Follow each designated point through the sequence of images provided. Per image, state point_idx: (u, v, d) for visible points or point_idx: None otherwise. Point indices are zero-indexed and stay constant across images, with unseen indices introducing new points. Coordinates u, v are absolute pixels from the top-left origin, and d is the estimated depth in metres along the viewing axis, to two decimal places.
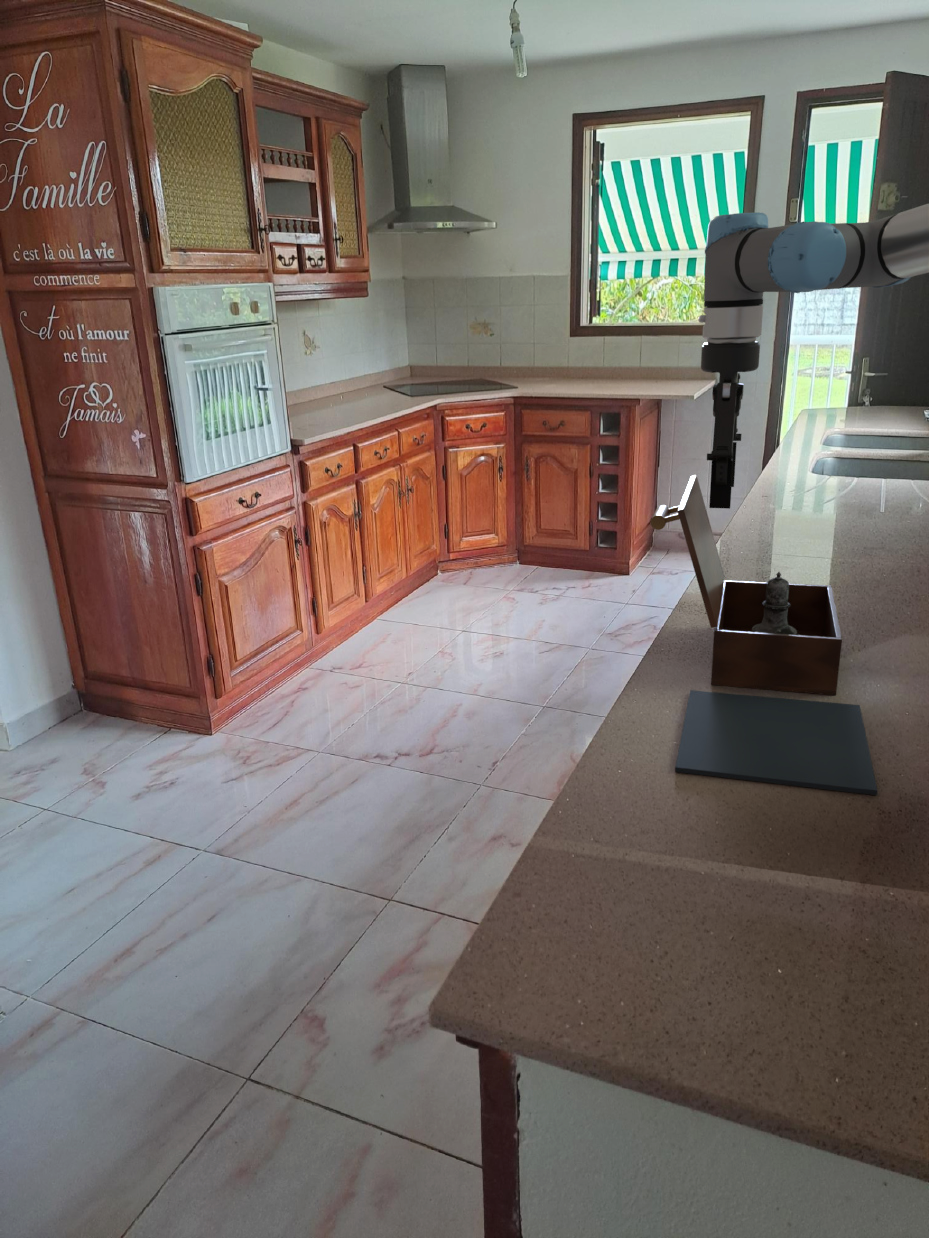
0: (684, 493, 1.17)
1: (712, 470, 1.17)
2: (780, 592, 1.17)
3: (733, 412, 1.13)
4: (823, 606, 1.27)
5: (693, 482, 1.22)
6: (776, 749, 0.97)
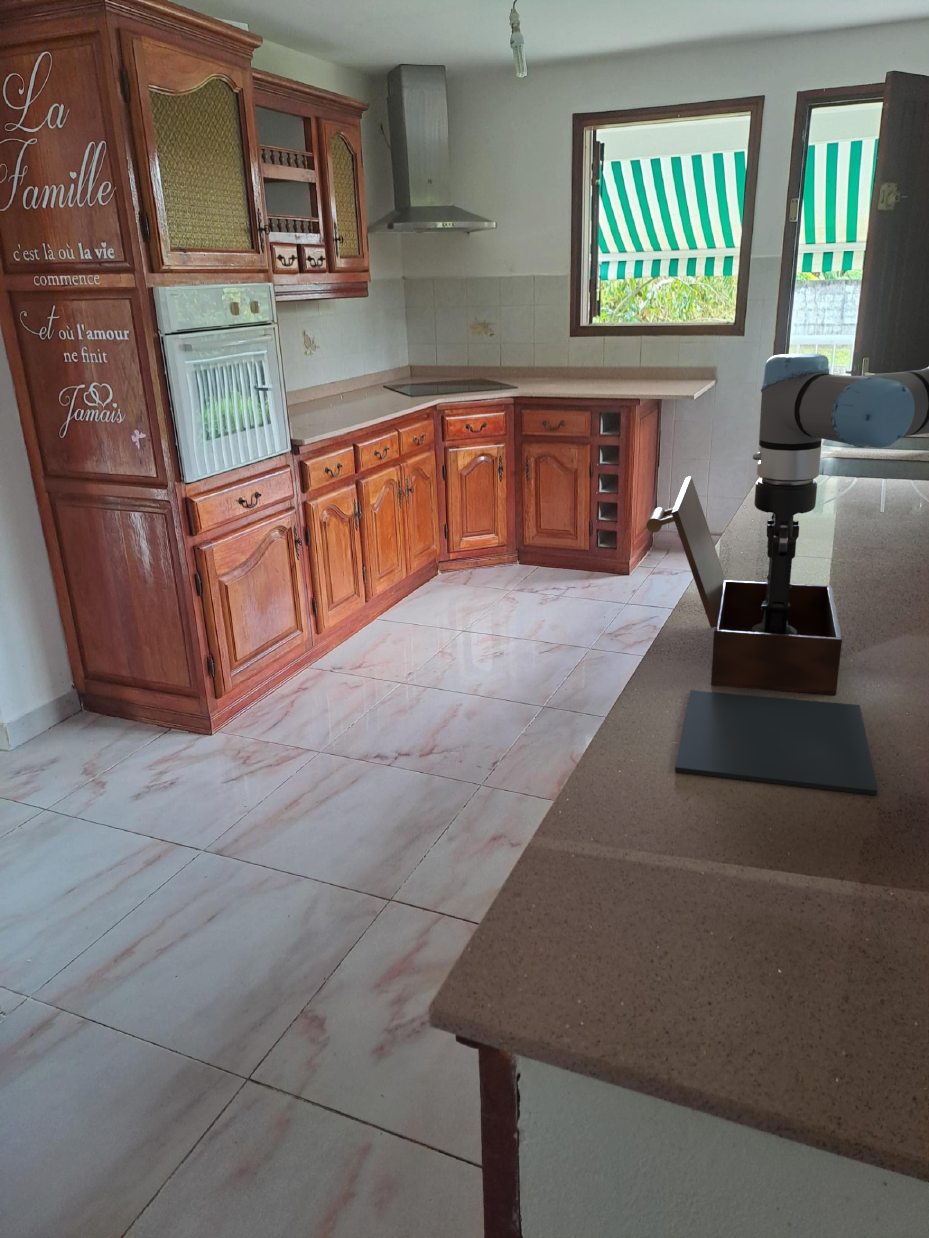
0: None
1: (766, 618, 1.17)
2: None
3: (790, 568, 1.11)
4: (823, 606, 1.27)
5: (688, 483, 1.23)
6: (776, 749, 0.97)
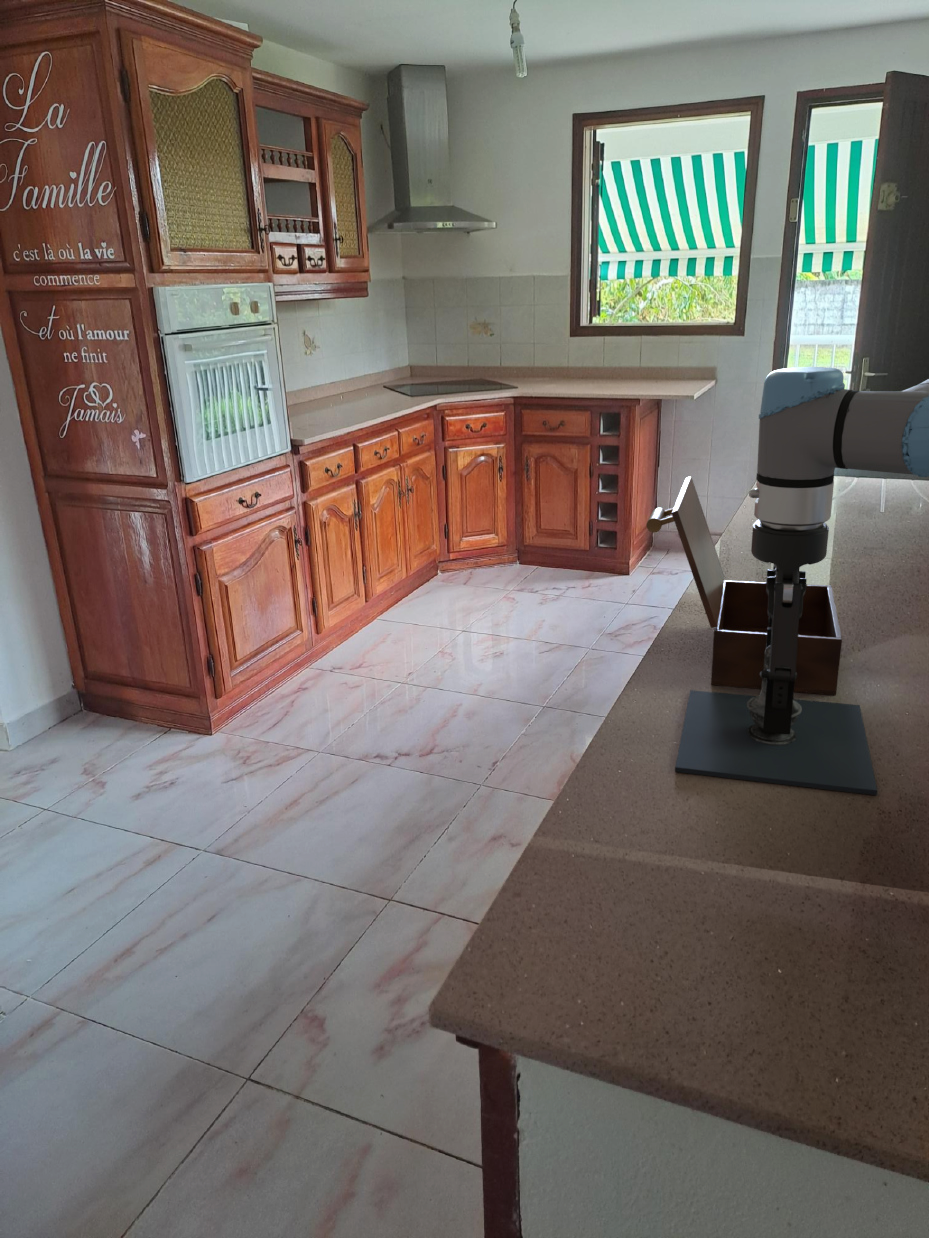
0: None
1: (767, 688, 0.92)
2: None
3: (797, 622, 0.88)
4: (823, 606, 1.27)
5: (688, 483, 1.23)
6: (776, 749, 0.97)
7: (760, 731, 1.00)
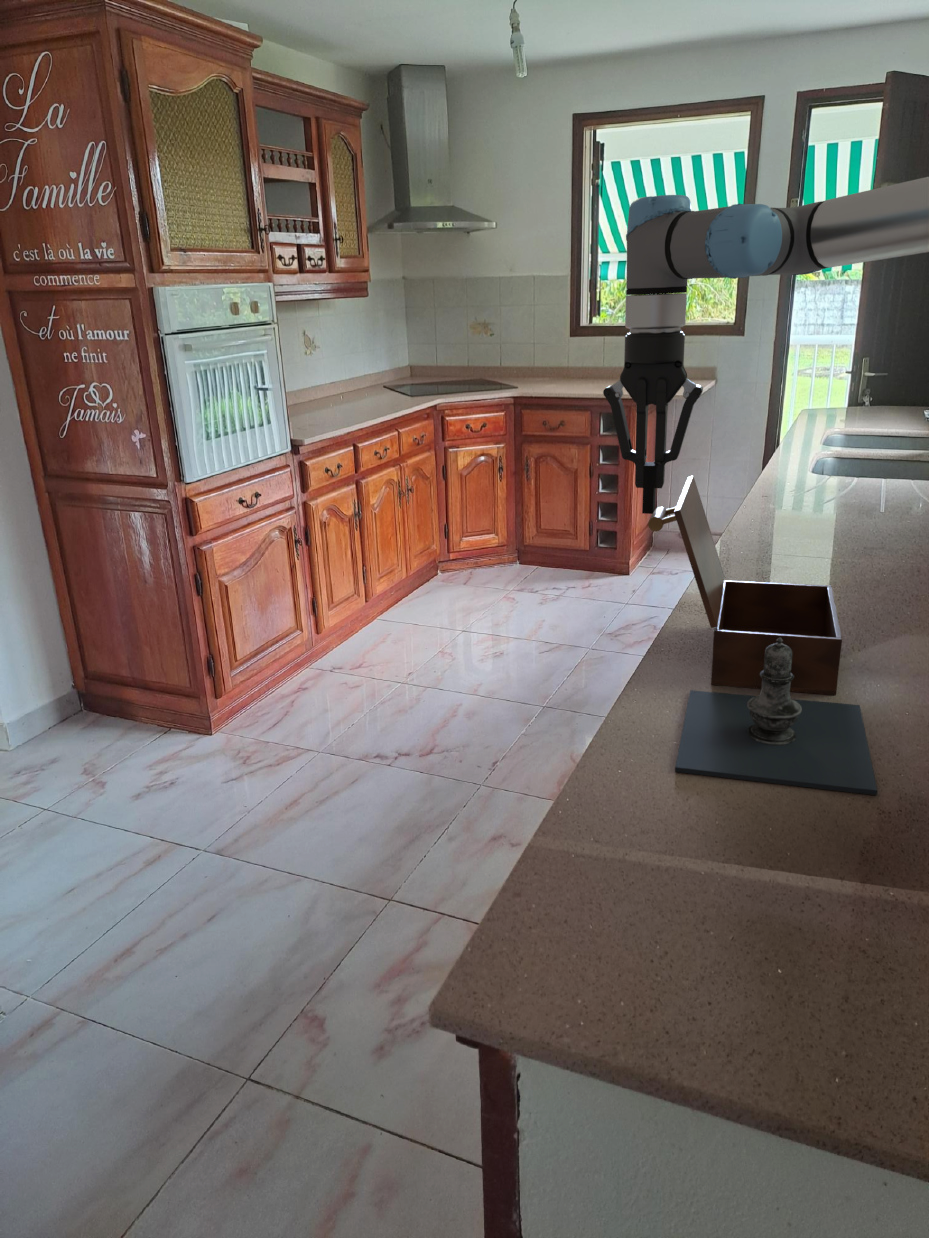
0: (681, 494, 1.17)
1: None
2: (781, 662, 0.96)
3: (613, 417, 1.16)
4: (823, 606, 1.27)
5: (690, 483, 1.22)
6: (776, 749, 0.97)
7: (760, 731, 1.00)
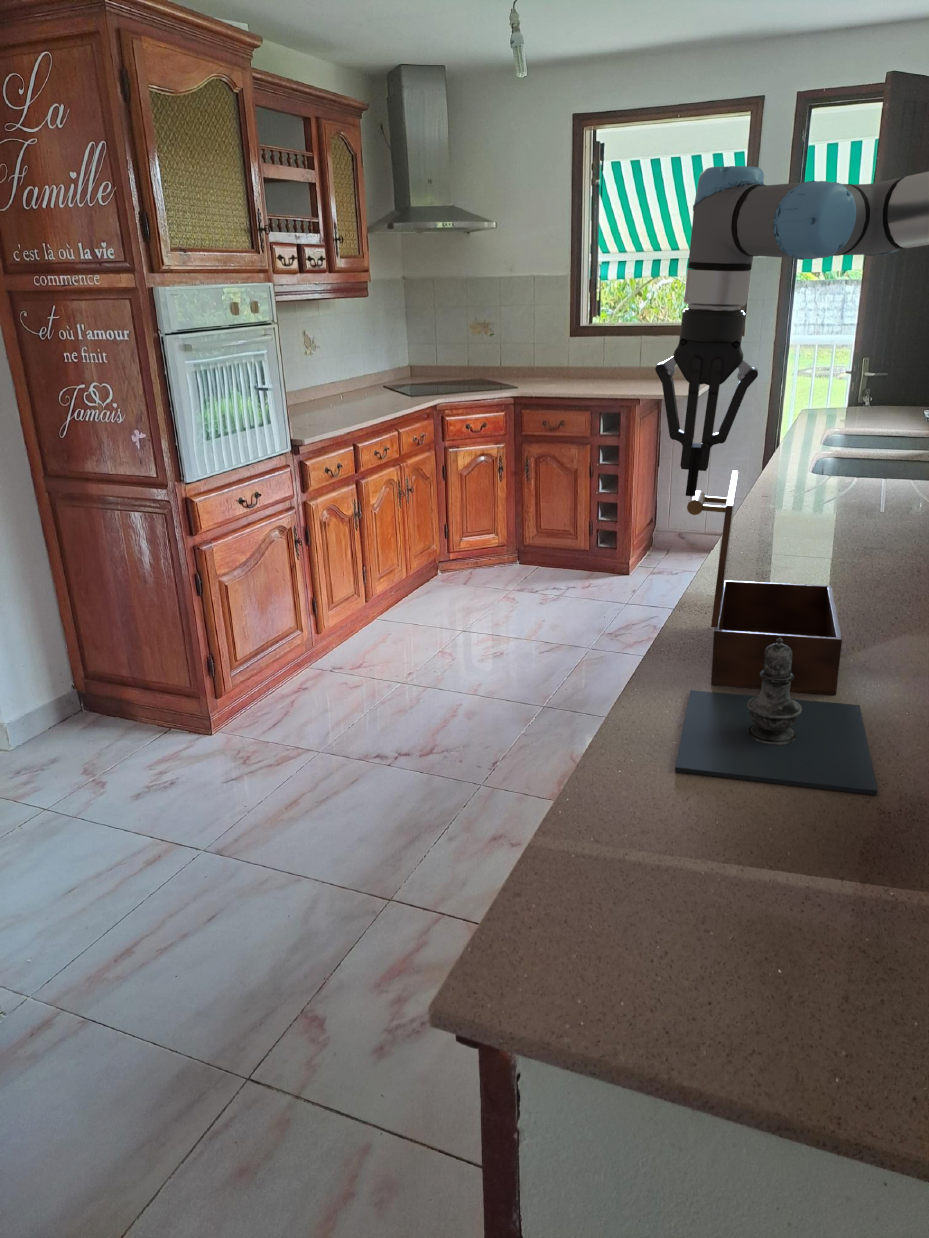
0: (729, 488, 1.15)
1: None
2: (781, 662, 0.96)
3: None
4: (823, 606, 1.27)
5: None
6: (776, 749, 0.97)
7: (760, 731, 1.00)
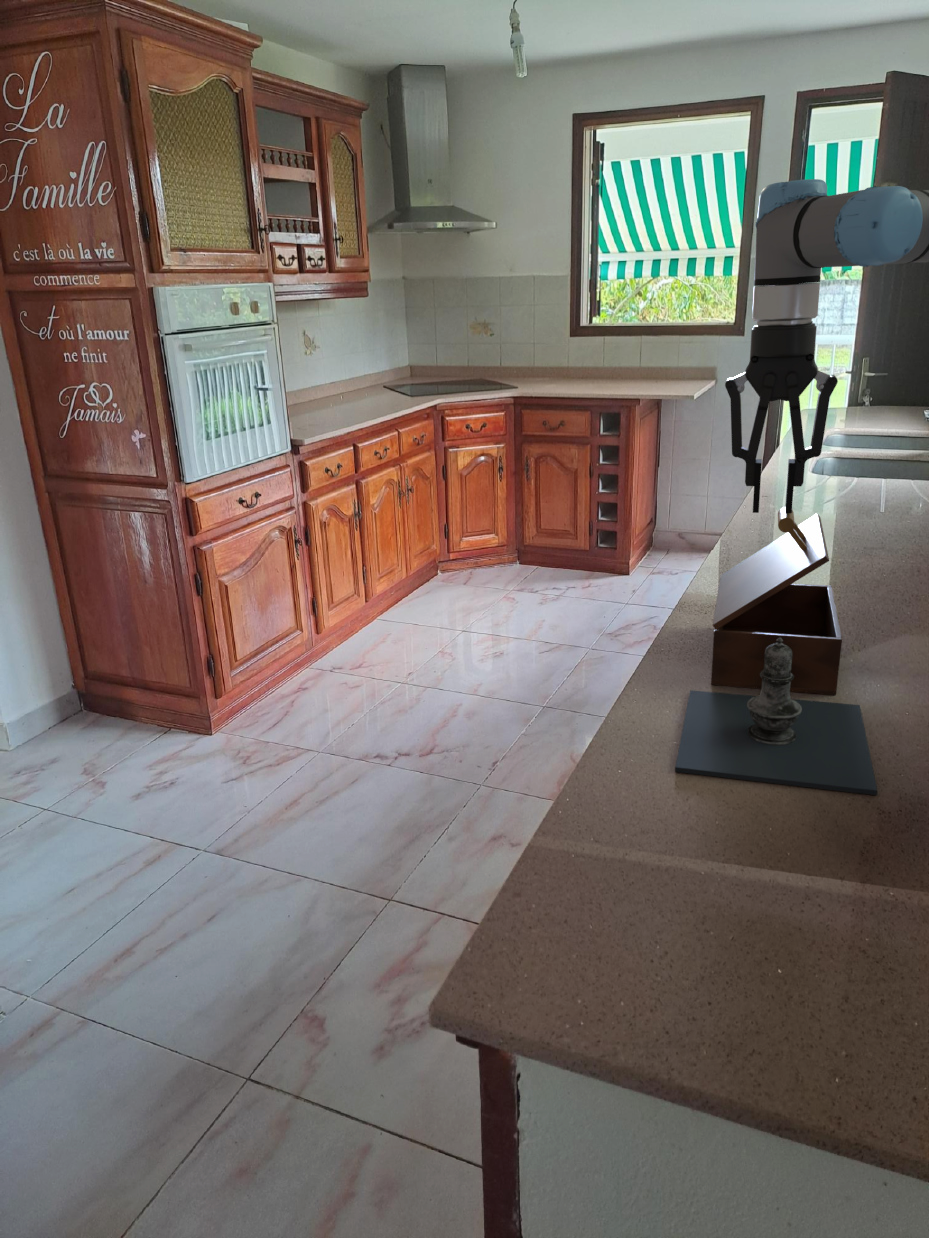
0: (821, 535, 1.14)
1: None
2: (781, 662, 0.96)
3: None
4: (823, 606, 1.27)
5: None
6: (776, 749, 0.97)
7: (760, 731, 1.00)
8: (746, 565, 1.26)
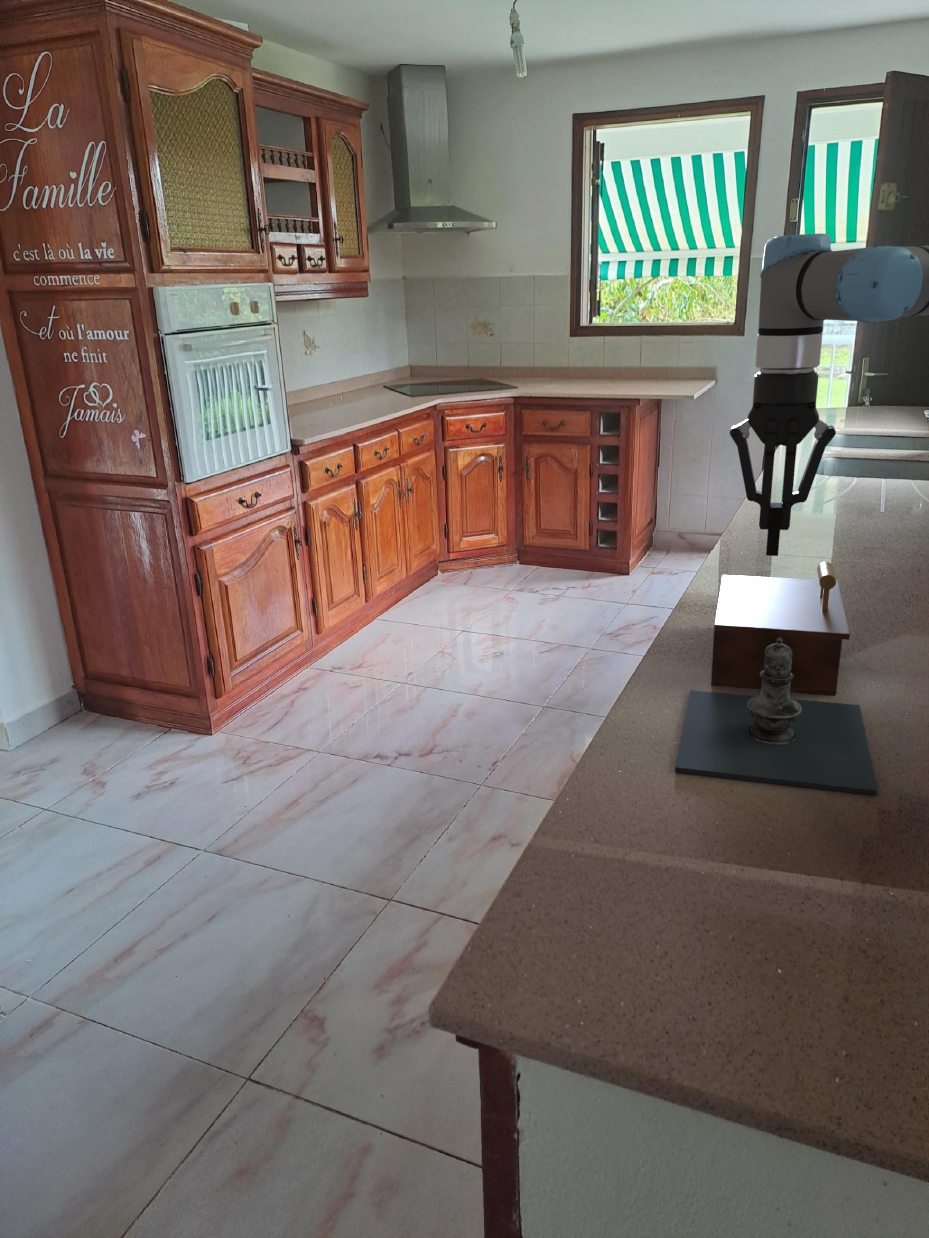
0: None
1: None
2: (781, 662, 0.96)
3: None
4: None
5: None
6: (776, 749, 0.97)
7: (760, 731, 1.00)
8: (754, 584, 1.26)
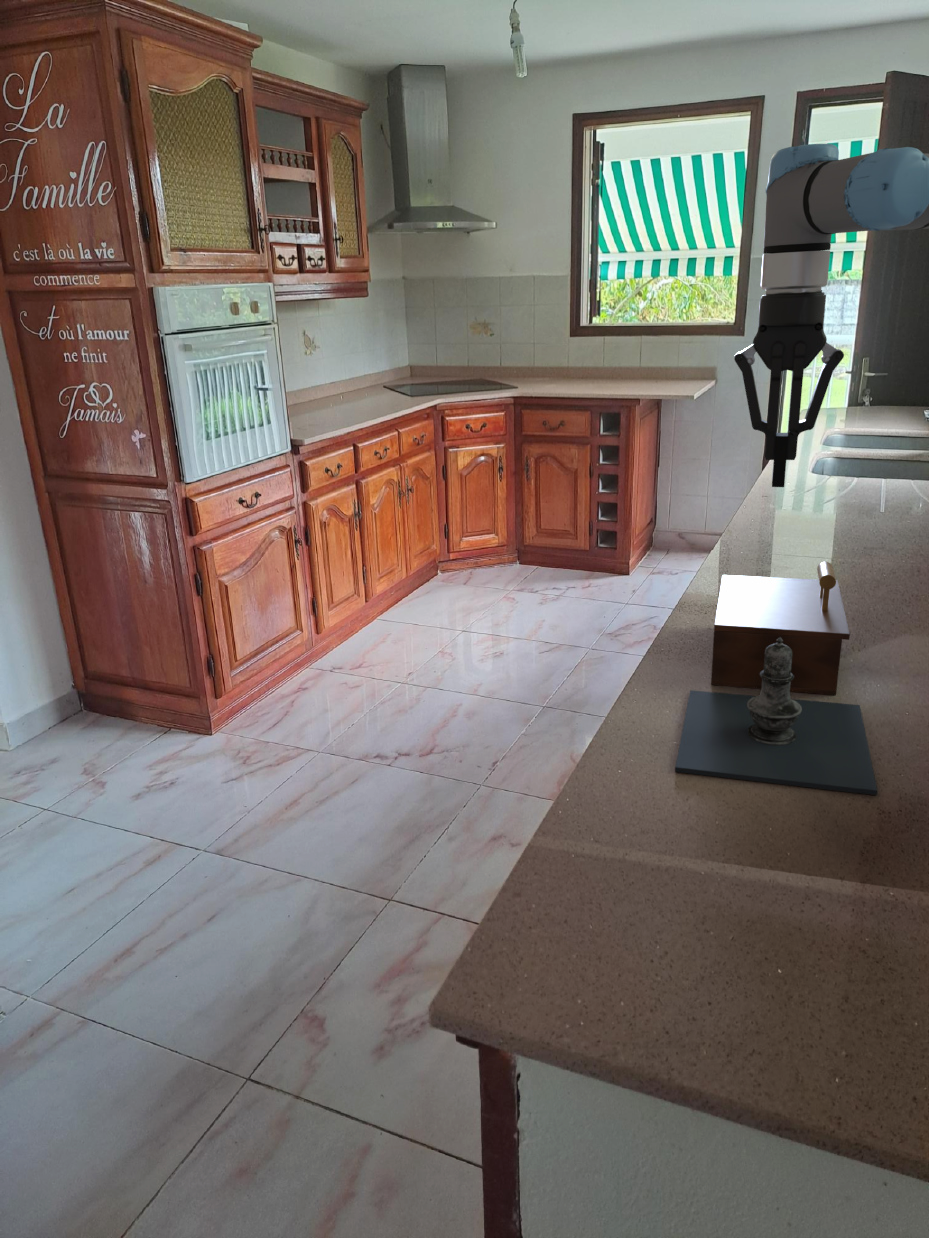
0: None
1: None
2: (781, 662, 0.96)
3: None
4: None
5: None
6: (776, 749, 0.97)
7: (760, 731, 1.00)
8: (754, 584, 1.26)
